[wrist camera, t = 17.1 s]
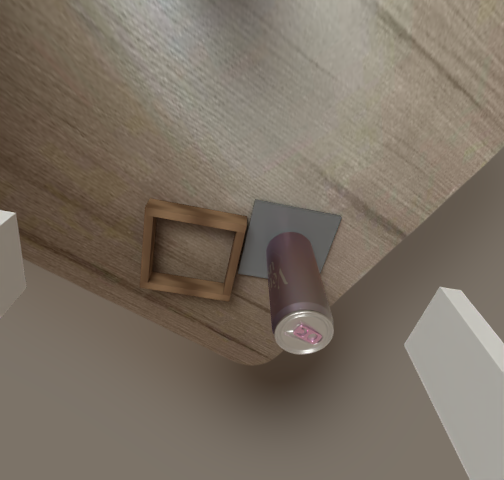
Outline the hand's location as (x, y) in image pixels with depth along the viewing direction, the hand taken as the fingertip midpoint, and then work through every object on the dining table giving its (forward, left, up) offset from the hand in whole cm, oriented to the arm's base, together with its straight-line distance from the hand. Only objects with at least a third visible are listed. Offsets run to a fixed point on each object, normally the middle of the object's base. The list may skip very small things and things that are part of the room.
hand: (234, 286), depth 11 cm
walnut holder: (-3, -19, -31) cm, 36 cm away
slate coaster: (+9, -16, -31) cm, 36 cm away
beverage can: (+9, -16, -30) cm, 36 cm away
